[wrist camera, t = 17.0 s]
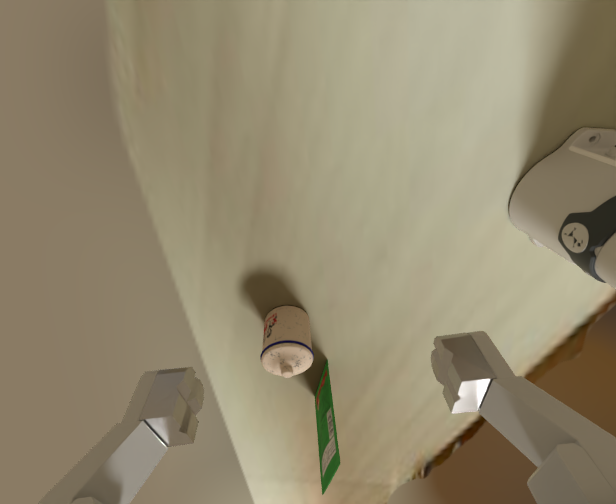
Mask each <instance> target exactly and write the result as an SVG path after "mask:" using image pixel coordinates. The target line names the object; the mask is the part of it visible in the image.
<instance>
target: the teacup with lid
mask: <svg viewBox="0 0 616 504" xmlns="http://www.w3.org/2000/svg"><path fill="white" fill-rule="evenodd" d="M313 359H314V354H313V351H312V346H311V334H310V321H309V317H308V315H307V313H306V312H305V311H303V310H302V309H300V308H298V307H294V306H281V307H277V308H275V309H273V310H272V311H270V312H269V313H268V314H267V316H266V318H265V324H264V337H263V351H262V353H261V362H262V365H263V367H264V368H265V369H266V370H267V371H269V372H270V373H272V374H275V375H279V376H283V377H285V378H289V377H291V376H293V375H297V374H300V373H302V372H304V371H306V370H307V369H308V368H309V367H310V366H311V364H312V362H313Z"/></svg>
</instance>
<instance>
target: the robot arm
mask: <svg viewBox="0 0 616 504" xmlns="http://www.w3.org/2000/svg"><path fill="white" fill-rule="evenodd" d="M590 138H591V139H590ZM589 139H590V140H589ZM509 215H510V219H511V221H512V223H513V224H514V226H515V227H516V228H518V229H519V230H521V231H523V232H525V233H526V234H528V236H529V238H530V240H531V242H532V243H533V244H535V245H536V246H538V247H543V246H545V247H547V248H548V249H550V250H551V251H553V252H554V253H556V254H557V255H559V256H561V257H562V258H564V259H565V260H567V261H568V262H570V263H572V264H574V265H578V266H579V267H580V268H581V269H582V270H583V271H584V272H585V273H587V274H588V275H590V276H592V277H594V278H595V279H597V280H598V281H601V282H604V283H608V284H609V285H610V286H611V287H613V288H614V289H615V290H616V129H602V128H588V127H585V128H581V129H579V130H577V131H576V132H575V133H574V134H573V135H572V136H571V137H570V138H569V139H568V140H567V141H566V142H565V143H564V144H563V145H562V146H561V147H560V148H559V149H558V150H556V151H555V152H553V153H552V154H550V155H549V156H547V157H546V158H544V159H543V160H541V161H540V162H539V163H537V164H536V165H535V166H534V167H533V168H532V169H531V170H530V171H529V172H528V173H527V174H526V175H525V176H524V177H523V178H522V180H521V181H520V183H519V184H518V186H517V187H516V189H515V191H514V193H513V195H512V198H511V201H510V206H509ZM433 344H434V346H435V348H436V349H434V350H433V351H432V354H431V363H432V368H433V372H434V374H435V377H436V379H437V381H439V382H440V383H441V384H443V385H444V389H443V395H444V398H445V400H446V402H447V404H448V407H449V409H450V411H451V413H463V412H475V411H479V413H480V414H481V415H482V416H483V417H484V418H485V419H486V420H487V421H488V422H489V423H490V424H492V425H493V426H494V427H495V428H496V429H497V430H498V431H499V432H500V433H501V434H502V435H503V436H505V437H506V438H507V439H508V440H509V441H510V442H511V443H512V444H513V445H514V446H516V447H517V448H518V449H519V450H520V451H521V452H522V453H523V454H524V455H525V456H527V458H528V459H530V460H531V461H532V462H533V463H534V464H535V465H536V466H537V467H538V469H537V470H536V471H535V472H534V473H533V474H532V476H531V477H530V478H529V480H528V483H527V485H528V487H529V489H530V491H531V493H532V495H533V497H534V498H535V500H536V502H537V504H616V438H615V437H614V436H612V435H611V434H609V433H608V432H606V431H604V430H603V429H601V428H600V427H598V426H597V425H595V424H594V423H592V422H591V421H589V420H588V419H586V418H585V417H583V416H582V415H580V414H578V413H577V412H575V411H574V410H572V409H571V408H569V407H568V406H566V405H565V404H563V403H562V402H560V401H558V400H557V399H555V398H554V397H552V396H550V395H549V394H547V393H546V392H545V391H543V390H541V389H540V388H538V387H537V386H535V385H534V384H532V383H531V382H529V381H528V380H526V379H525V378H523V377H521V376H515V374H514V373H513V371H512V370H511V369H510V367H509V366H508V364H507V363H506V361H505V360H504V358H503V357H502V355H501V354H500V352H499V351H498V349H497V348H496V346H495V345H494V343H493V342H492V341H491V339H490V338H489V336H488V335H487V333H485V332H484V331H477V332H470V333H459V334H452V335H444V336H437V337H436V338H435V339H434V343H433ZM195 373H196V372H195V371H194V369H193V367H185V368H175V369H166V370H156V371H147V372H145V373H144V374H143V375H142V376H141V378H140V380H139V383H138V385H137V387H136V390H135V392H134V394H133V397H132V399H131V401H130V404H129V406H128V408H127V411H126V413H125V415H124V417H123V420H122V422H121V423H117V424H116V425H115V426H114V427H113V428H112V429H111V430H110V431H109V432H108V433H107V434H106V435H105V436H104V437H103V438H102V439H101V440H100V441H99V442H98V443H97V444H96V445H95V446H94V447H93V448H92V449H91V450H90V451H89V452H88V453H87V454H86V455H85V456H84V457H83V458H82V459H81V460H80V461H79V462H78V463H77V464H76V465H75V466H74V467H73V468H72V469H71V470H70V471H69V472H68V473H67V474H66V475H65V476H64V477H63V478H62V479H61V480H60V481H59V482H58V483H57V484H56V485H55V486H54V487H53V488H52V489H51V490H50V491H49V492H48V493H47V494H46V495H45V496H44V497H43V498H42V499H41V500H40V501H39V503H38V504H129V503H130V502H131V500H132V499H133V498H134V496H135V495H136V493H137V492H138V490H139V489H140V488H141V486H142V485H143V484H144V482H145V481H146V479H147V478H148V476H149V475H150V474H151V472H152V471H153V469H154V468H155V467H156V465H157V464H158V462H159V461H160V459H161V458H162V457H163V455H164V454H165V452H166V451H167V450H168V448H167V447H171V446H177V445H185V444H192V443H194V440H195V435H196V430H197V427H198V422H199V421H198V419H197V417H196V414H197V413H198V412H199V411H200V409H201V408H202V404H203V400H204V389H203V384H202V383H201V381H200V379H198V378H196V377H195Z"/></svg>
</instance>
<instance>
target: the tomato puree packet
mask: <svg viewBox="0 0 616 504" xmlns="http://www.w3.org/2000/svg"><path fill="white" fill-rule="evenodd" d="M315 407H316V420H317V432H318V445H319V458H320V472H321V484H322V495H323V494H324V492H325V491H326V489H327V487H328V485H329V484H330V482H331V480H332V478H333V476H334V475H335V473H336V471H337V469H338V467H339V465H340V456H339V449H338V441H337V433H336V425H335V417H334V409H333V401H332V393H331V385H330V377H329V369H328V360H327V362H326V365H325V368H324V371H323V373H322V376H321V379H320V382H319V385H318V389H317V392H316V395H315Z"/></svg>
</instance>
